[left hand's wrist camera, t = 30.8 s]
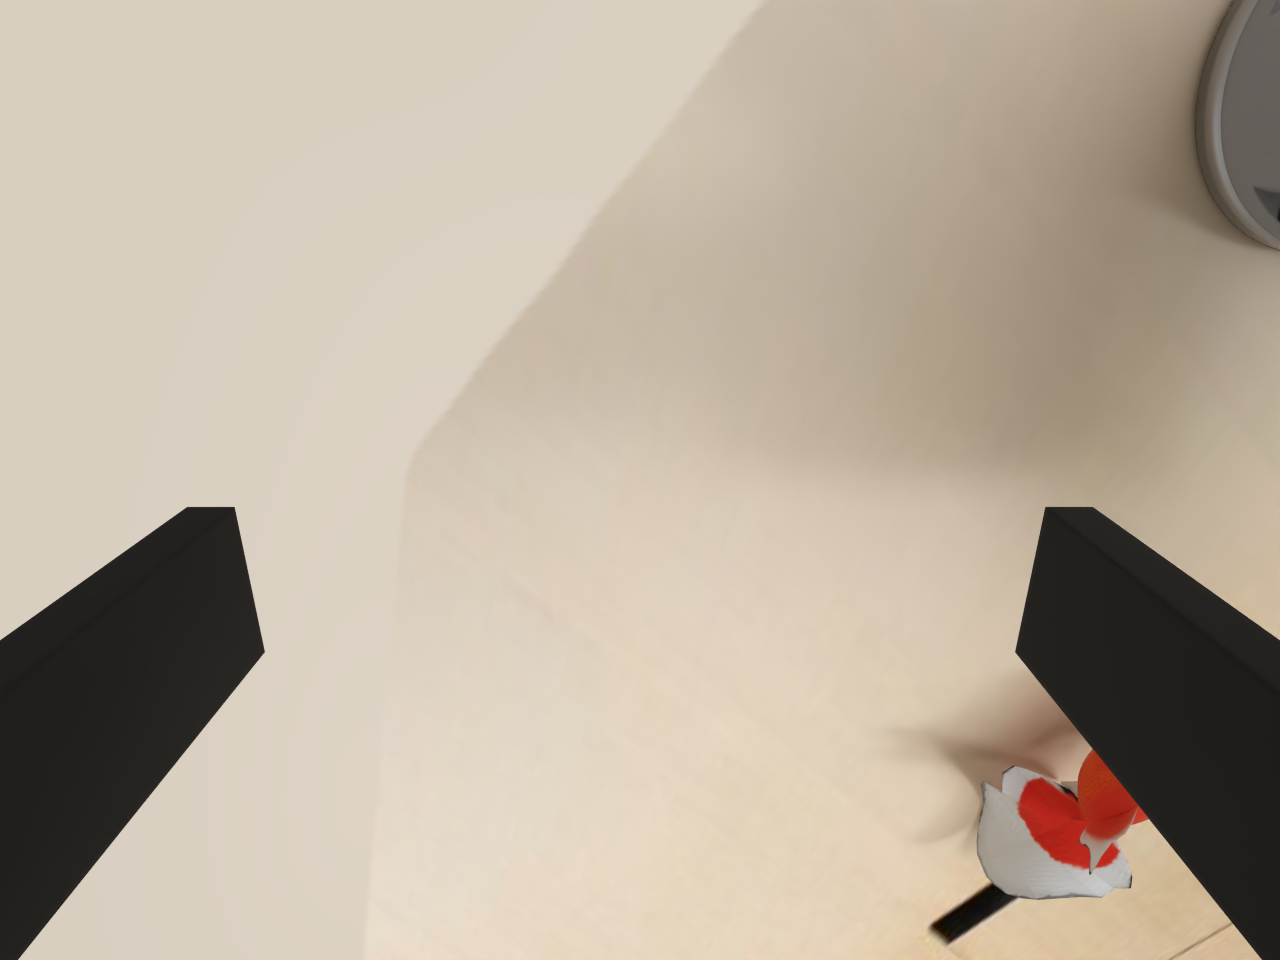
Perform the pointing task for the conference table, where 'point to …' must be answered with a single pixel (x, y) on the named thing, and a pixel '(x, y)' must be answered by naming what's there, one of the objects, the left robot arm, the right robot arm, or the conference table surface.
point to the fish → (1056, 833)
